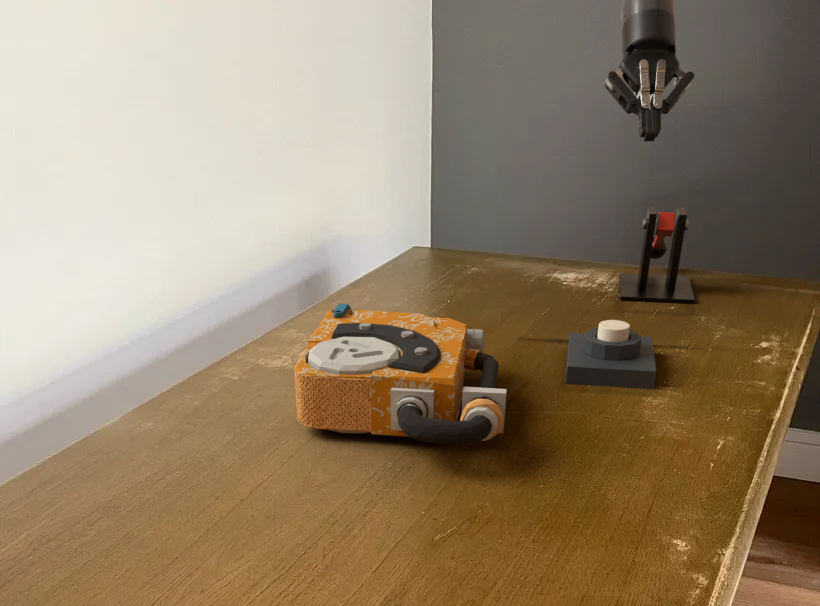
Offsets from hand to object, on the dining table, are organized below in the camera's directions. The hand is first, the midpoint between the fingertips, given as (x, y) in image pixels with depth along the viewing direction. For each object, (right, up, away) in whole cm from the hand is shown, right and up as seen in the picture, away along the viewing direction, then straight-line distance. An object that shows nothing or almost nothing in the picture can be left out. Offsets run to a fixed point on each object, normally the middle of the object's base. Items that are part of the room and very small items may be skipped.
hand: (650, 138), depth 138 cm
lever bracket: (+1, -22, +2) cm, 22 cm away
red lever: (+2, -15, +2) cm, 15 cm away
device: (-37, -46, -32) cm, 67 cm away
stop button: (-12, -36, -24) cm, 44 cm away
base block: (-11, -39, -22) cm, 46 cm away
